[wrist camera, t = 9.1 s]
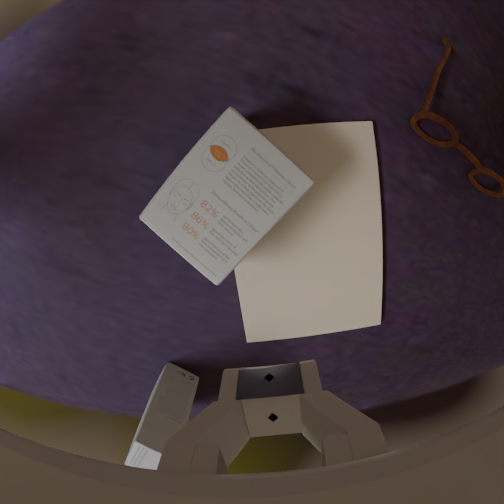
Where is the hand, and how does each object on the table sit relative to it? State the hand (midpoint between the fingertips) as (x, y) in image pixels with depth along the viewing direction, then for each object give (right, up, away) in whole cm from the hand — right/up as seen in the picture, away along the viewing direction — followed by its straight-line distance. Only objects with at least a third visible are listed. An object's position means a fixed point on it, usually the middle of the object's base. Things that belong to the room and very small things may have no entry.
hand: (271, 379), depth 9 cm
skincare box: (-10, -12, +24) cm, 28 cm away
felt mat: (+4, +6, +18) cm, 19 cm away
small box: (-6, +5, +15) cm, 17 cm away
